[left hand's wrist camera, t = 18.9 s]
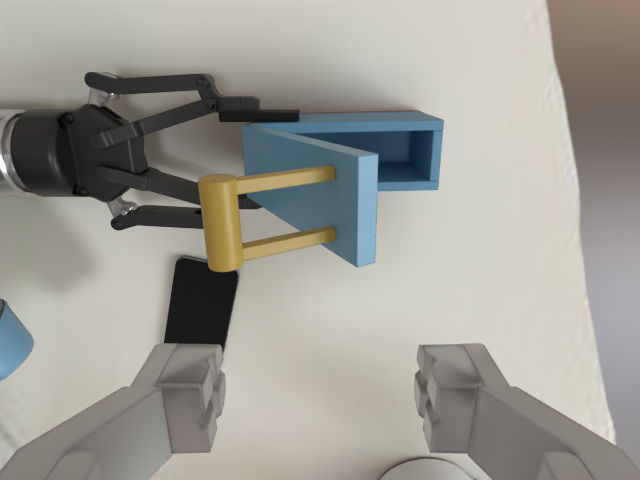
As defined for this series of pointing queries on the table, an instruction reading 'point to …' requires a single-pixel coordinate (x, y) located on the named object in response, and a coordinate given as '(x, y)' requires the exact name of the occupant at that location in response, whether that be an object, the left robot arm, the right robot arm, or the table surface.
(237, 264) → the lid
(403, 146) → the chest
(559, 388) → the table surface
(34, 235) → the table surface
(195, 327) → the smartphone
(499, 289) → the table surface
